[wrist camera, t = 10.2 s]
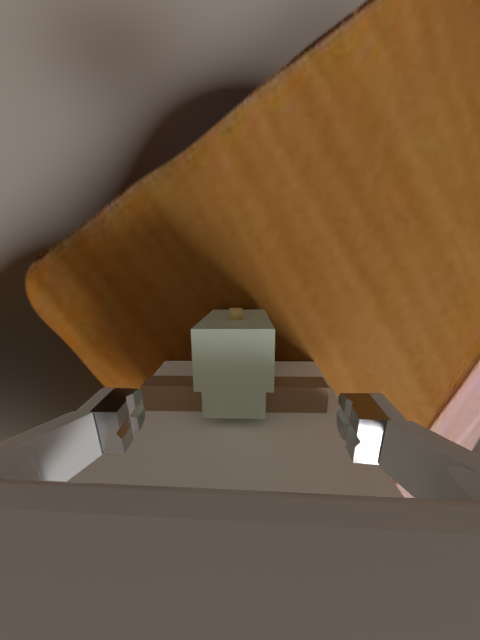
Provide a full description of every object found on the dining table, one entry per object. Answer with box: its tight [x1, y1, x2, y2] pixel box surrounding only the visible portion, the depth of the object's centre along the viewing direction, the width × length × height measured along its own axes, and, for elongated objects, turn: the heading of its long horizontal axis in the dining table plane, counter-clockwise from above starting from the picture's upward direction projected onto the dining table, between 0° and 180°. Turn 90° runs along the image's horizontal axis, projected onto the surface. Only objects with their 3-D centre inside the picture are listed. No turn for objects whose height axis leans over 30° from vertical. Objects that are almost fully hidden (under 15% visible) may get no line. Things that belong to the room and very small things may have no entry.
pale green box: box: [191, 308, 275, 419], centre depth 18 cm, size 5×7×9 cm
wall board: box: [67, 361, 404, 498], centre depth 17 cm, size 16×8×16 cm, turn 91°
